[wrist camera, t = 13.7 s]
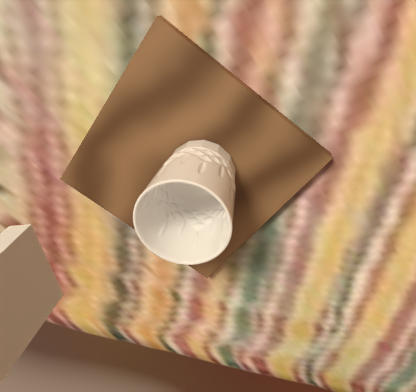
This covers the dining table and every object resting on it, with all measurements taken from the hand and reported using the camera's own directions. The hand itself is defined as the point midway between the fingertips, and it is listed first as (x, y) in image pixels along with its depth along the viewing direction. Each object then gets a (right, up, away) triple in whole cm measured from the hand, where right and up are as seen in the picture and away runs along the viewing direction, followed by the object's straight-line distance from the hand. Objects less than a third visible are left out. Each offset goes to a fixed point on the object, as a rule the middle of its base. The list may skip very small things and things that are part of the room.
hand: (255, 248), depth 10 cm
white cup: (-2, +4, +28) cm, 29 cm away
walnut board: (-3, +5, +29) cm, 30 cm away
